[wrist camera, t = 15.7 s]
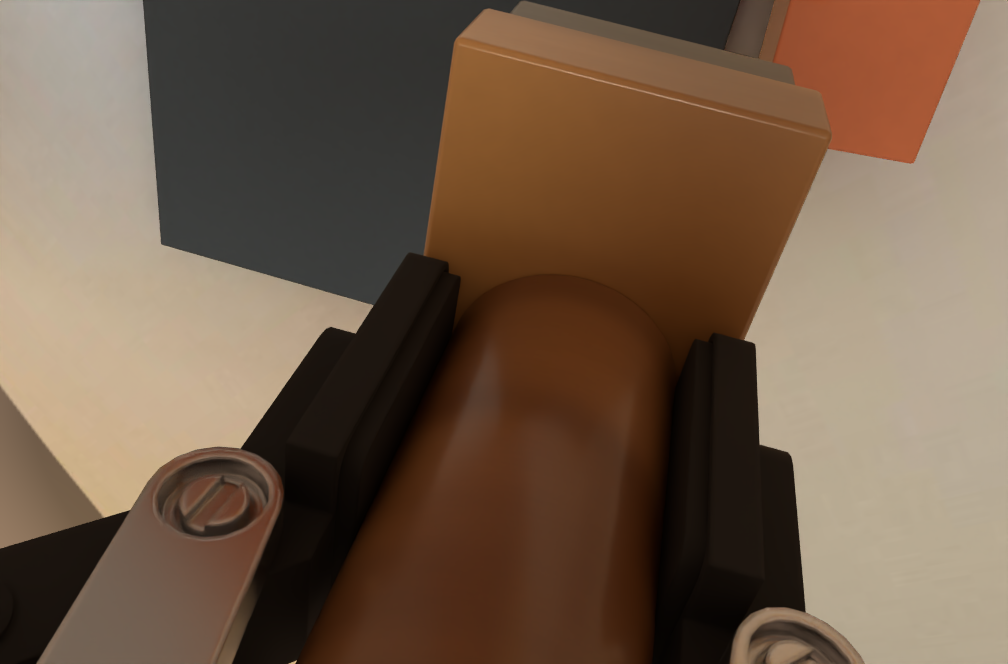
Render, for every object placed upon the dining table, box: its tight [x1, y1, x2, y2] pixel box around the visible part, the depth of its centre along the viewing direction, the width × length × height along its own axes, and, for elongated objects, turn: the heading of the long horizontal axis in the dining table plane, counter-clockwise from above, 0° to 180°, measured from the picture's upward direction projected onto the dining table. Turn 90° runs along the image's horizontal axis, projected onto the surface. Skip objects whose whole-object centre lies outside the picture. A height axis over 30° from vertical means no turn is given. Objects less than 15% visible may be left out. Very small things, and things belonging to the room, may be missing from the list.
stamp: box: [296, 1, 832, 664], centre depth 11 cm, size 4×8×9 cm, turn 170°
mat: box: [143, 0, 740, 305], centre depth 27 cm, size 18×16×1 cm
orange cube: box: [758, 0, 980, 164], centre depth 22 cm, size 4×4×4 cm
